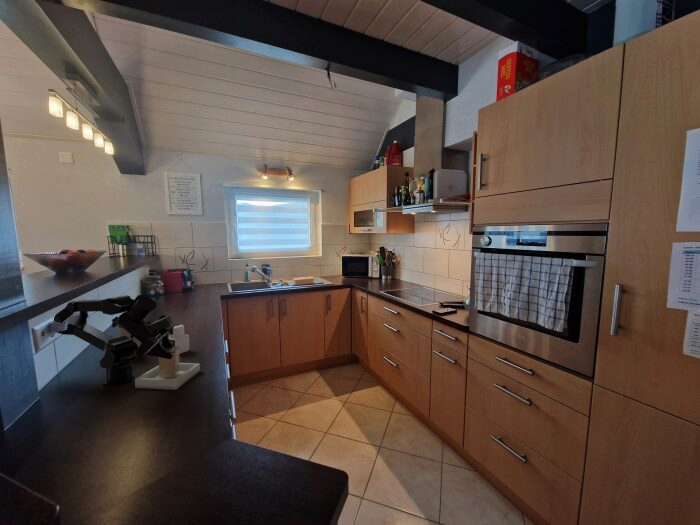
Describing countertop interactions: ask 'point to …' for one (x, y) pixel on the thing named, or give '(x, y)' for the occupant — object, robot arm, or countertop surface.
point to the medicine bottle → (179, 337)
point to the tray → (155, 382)
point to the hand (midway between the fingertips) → (173, 355)
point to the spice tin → (169, 363)
